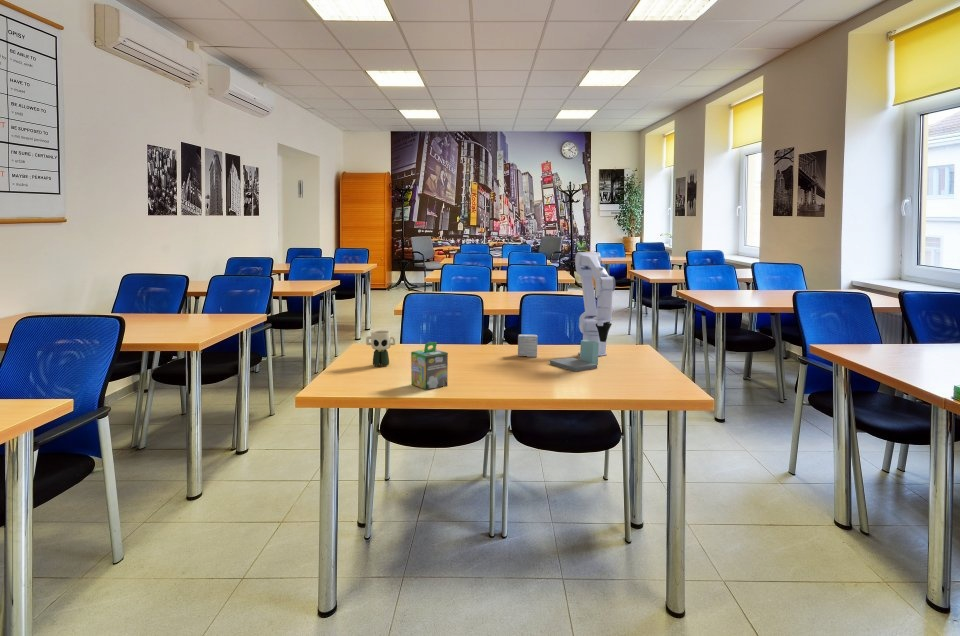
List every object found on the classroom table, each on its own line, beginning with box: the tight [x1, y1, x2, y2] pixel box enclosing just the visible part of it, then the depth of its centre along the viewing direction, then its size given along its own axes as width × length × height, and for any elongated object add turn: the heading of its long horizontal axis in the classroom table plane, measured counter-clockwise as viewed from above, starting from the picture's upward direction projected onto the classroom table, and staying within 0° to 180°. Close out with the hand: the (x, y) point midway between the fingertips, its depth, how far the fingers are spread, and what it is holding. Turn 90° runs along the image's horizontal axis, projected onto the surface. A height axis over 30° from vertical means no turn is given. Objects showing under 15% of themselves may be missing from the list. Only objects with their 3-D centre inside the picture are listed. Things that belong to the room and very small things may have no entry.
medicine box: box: [517, 334, 538, 358], centre depth 263 cm, size 8×4×9 cm, turn 84°
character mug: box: [365, 329, 396, 367], centre depth 241 cm, size 11×7×13 cm, turn 94°
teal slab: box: [579, 339, 599, 366], centre depth 249 cm, size 3×7×9 cm, turn 32°
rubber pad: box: [549, 357, 598, 373], centre depth 246 cm, size 11×15×2 cm
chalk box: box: [410, 341, 449, 391], centre depth 212 cm, size 9×9×15 cm
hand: (603, 341), depth 252 cm, fingers closed
